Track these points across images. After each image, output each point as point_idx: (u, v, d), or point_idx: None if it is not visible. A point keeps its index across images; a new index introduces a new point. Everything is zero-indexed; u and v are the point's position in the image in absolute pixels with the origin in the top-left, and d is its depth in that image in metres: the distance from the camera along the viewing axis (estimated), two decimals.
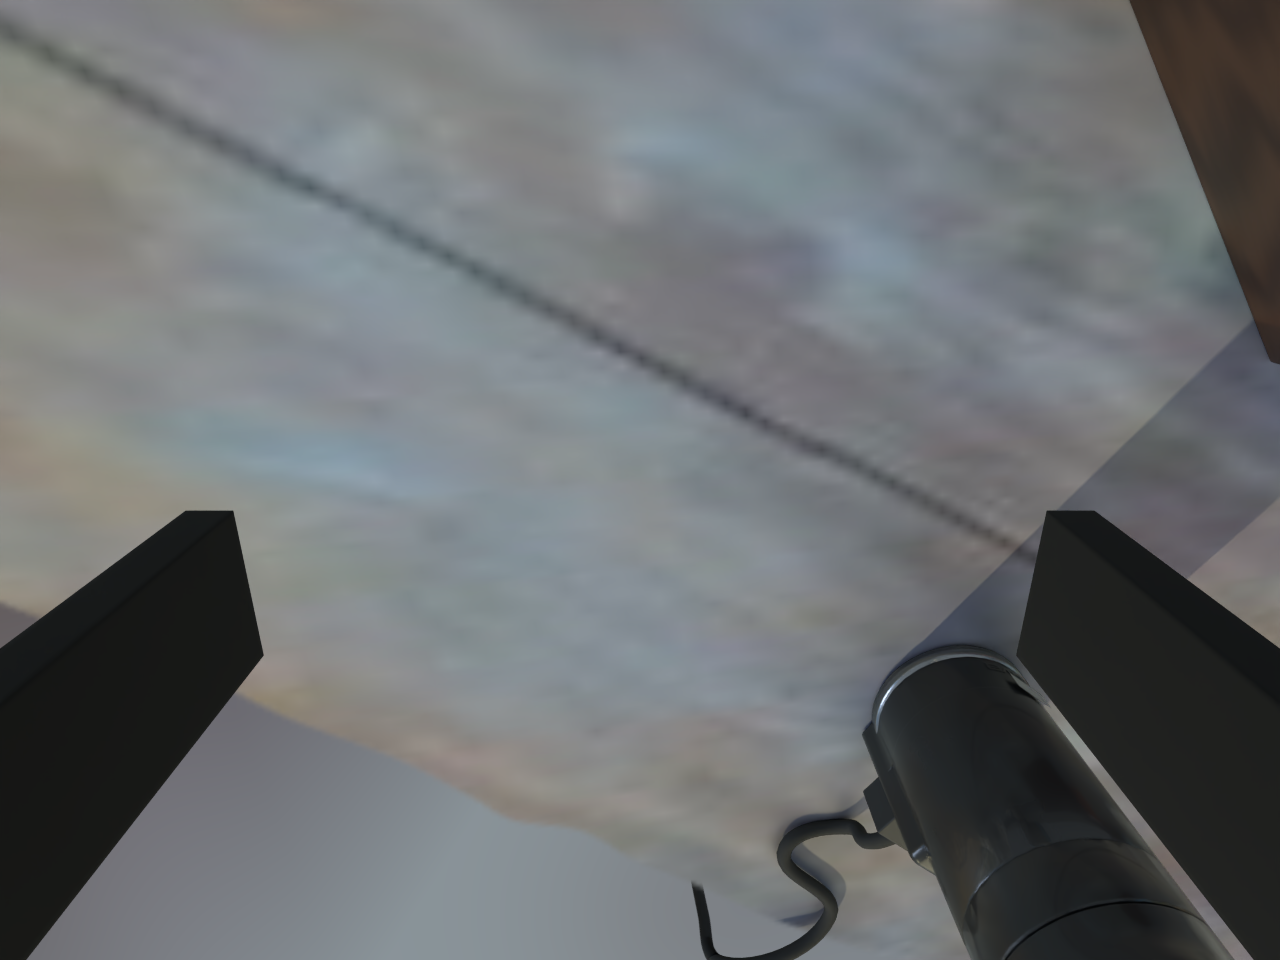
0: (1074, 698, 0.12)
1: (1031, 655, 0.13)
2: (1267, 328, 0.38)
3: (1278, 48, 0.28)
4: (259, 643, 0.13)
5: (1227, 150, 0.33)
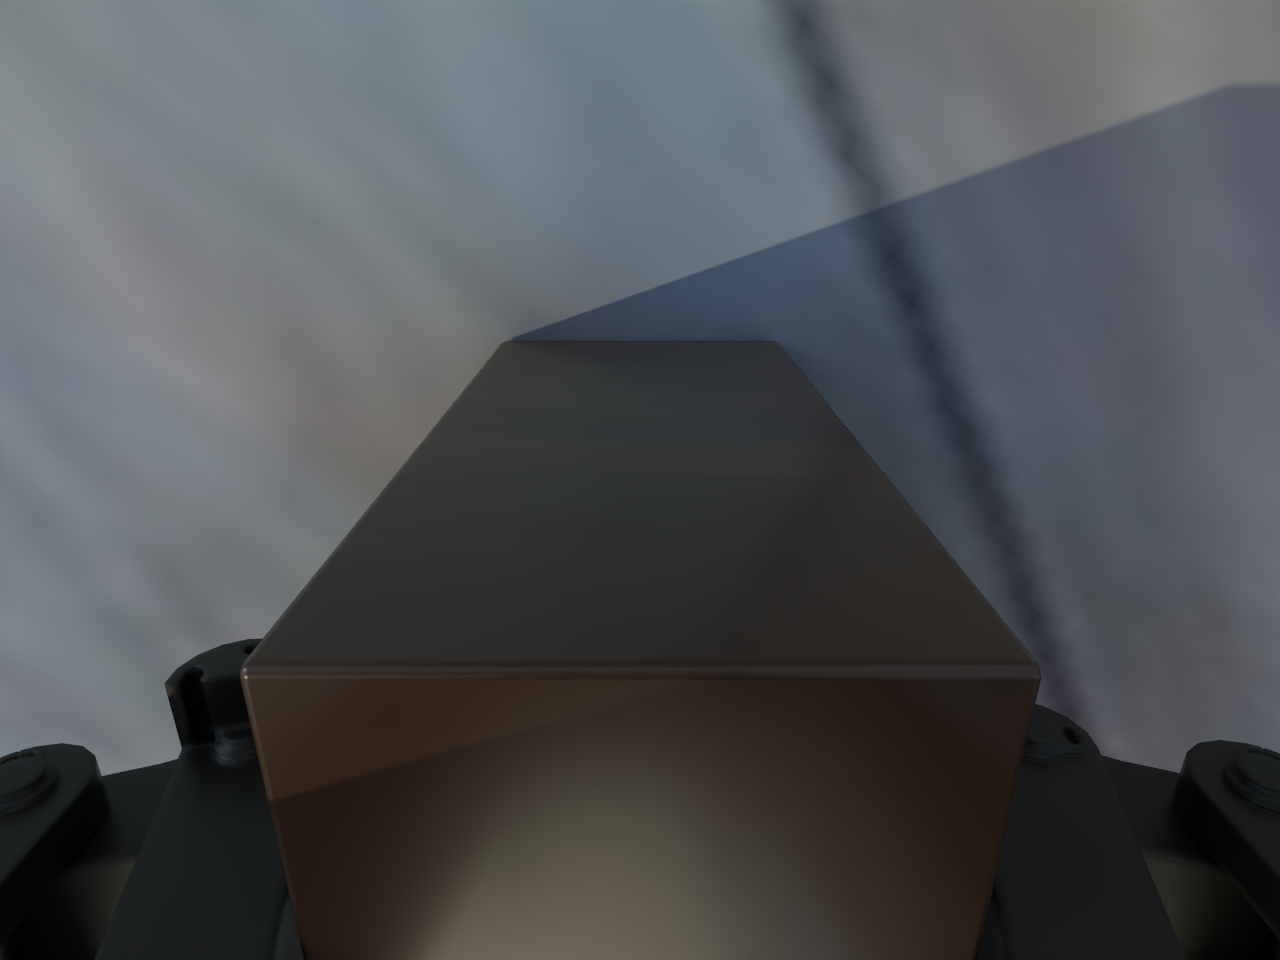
0: None
1: None
2: None
3: None
4: None
5: None
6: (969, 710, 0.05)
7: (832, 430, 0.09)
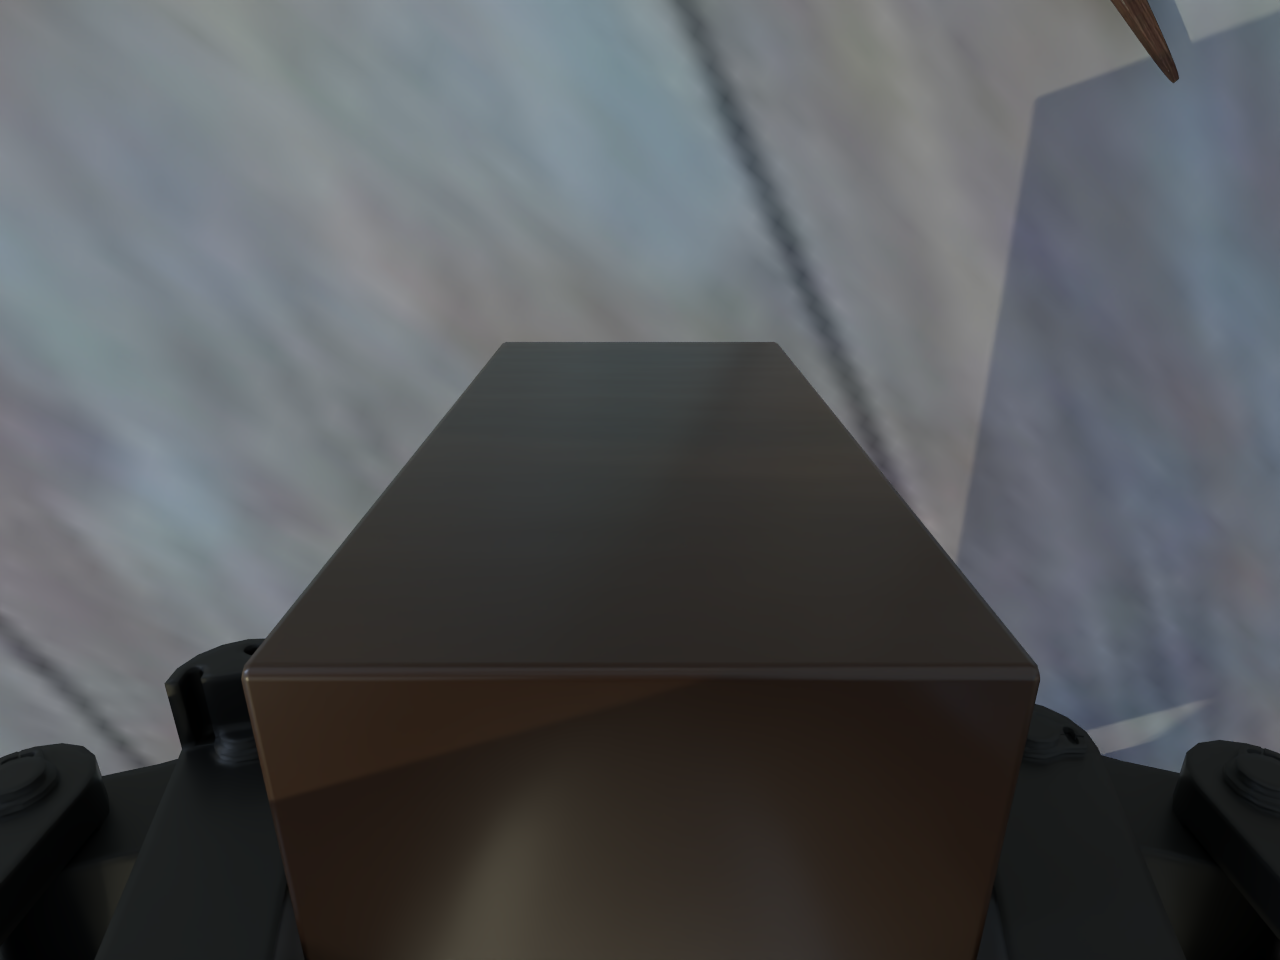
0: None
1: None
2: None
3: None
4: None
5: None
6: (968, 711, 0.05)
7: (832, 431, 0.09)
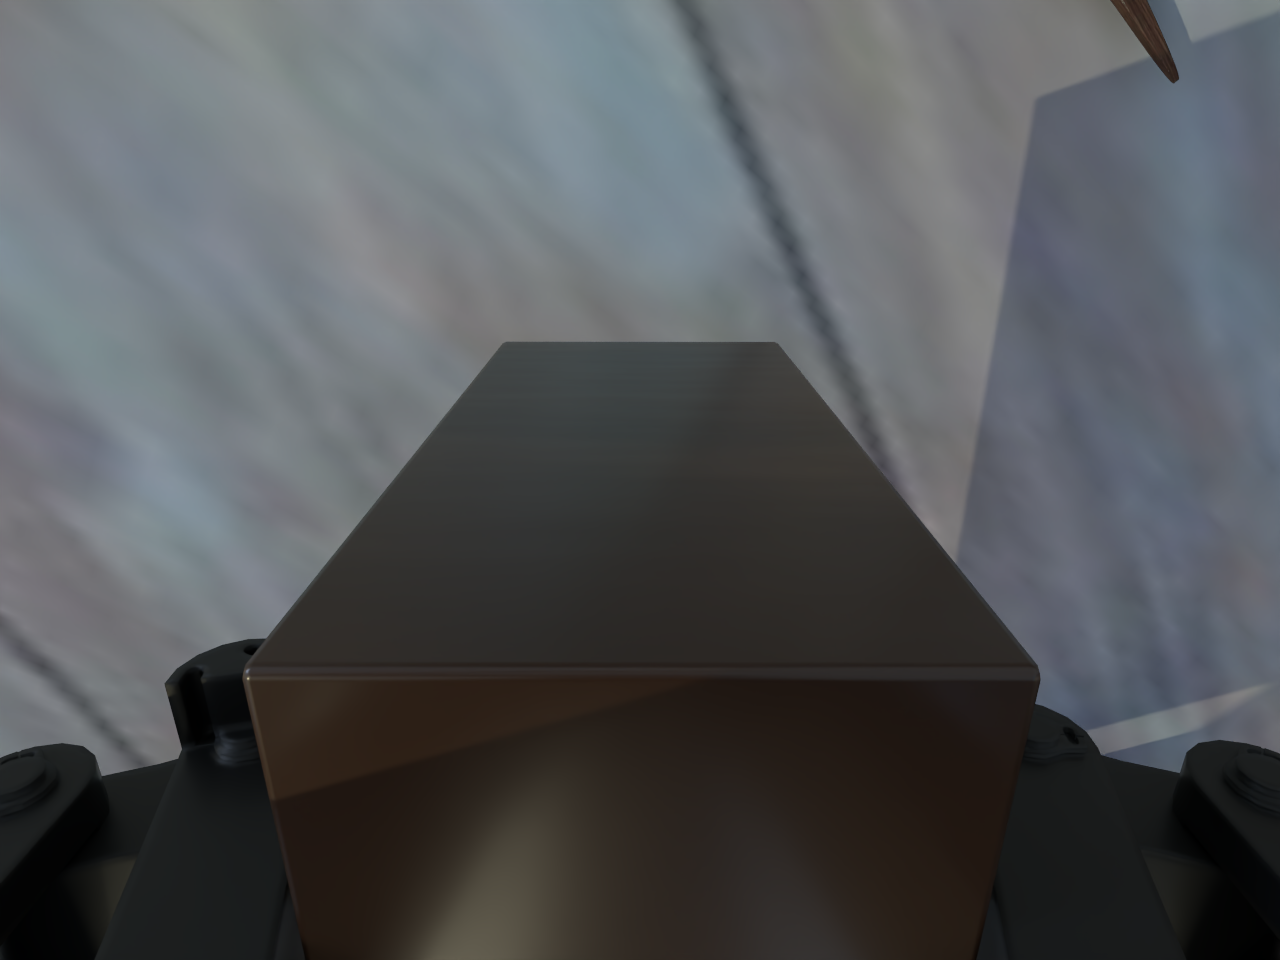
0: None
1: None
2: None
3: None
4: None
5: None
6: (969, 712, 0.05)
7: (832, 432, 0.09)
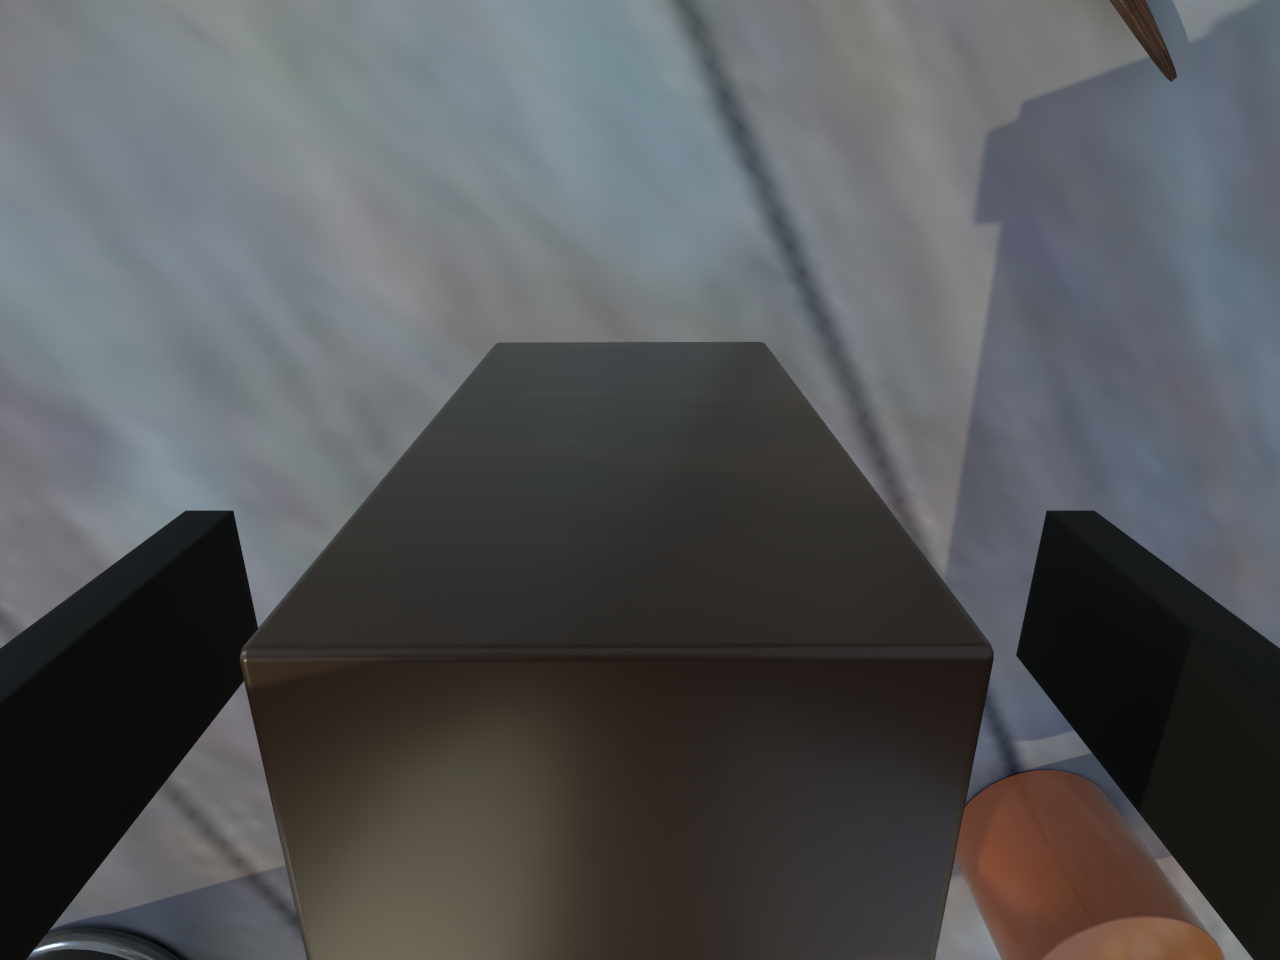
0: (1074, 698, 0.12)
1: (1031, 655, 0.13)
2: None
3: None
4: None
5: None
6: (927, 689, 0.05)
7: (812, 428, 0.09)
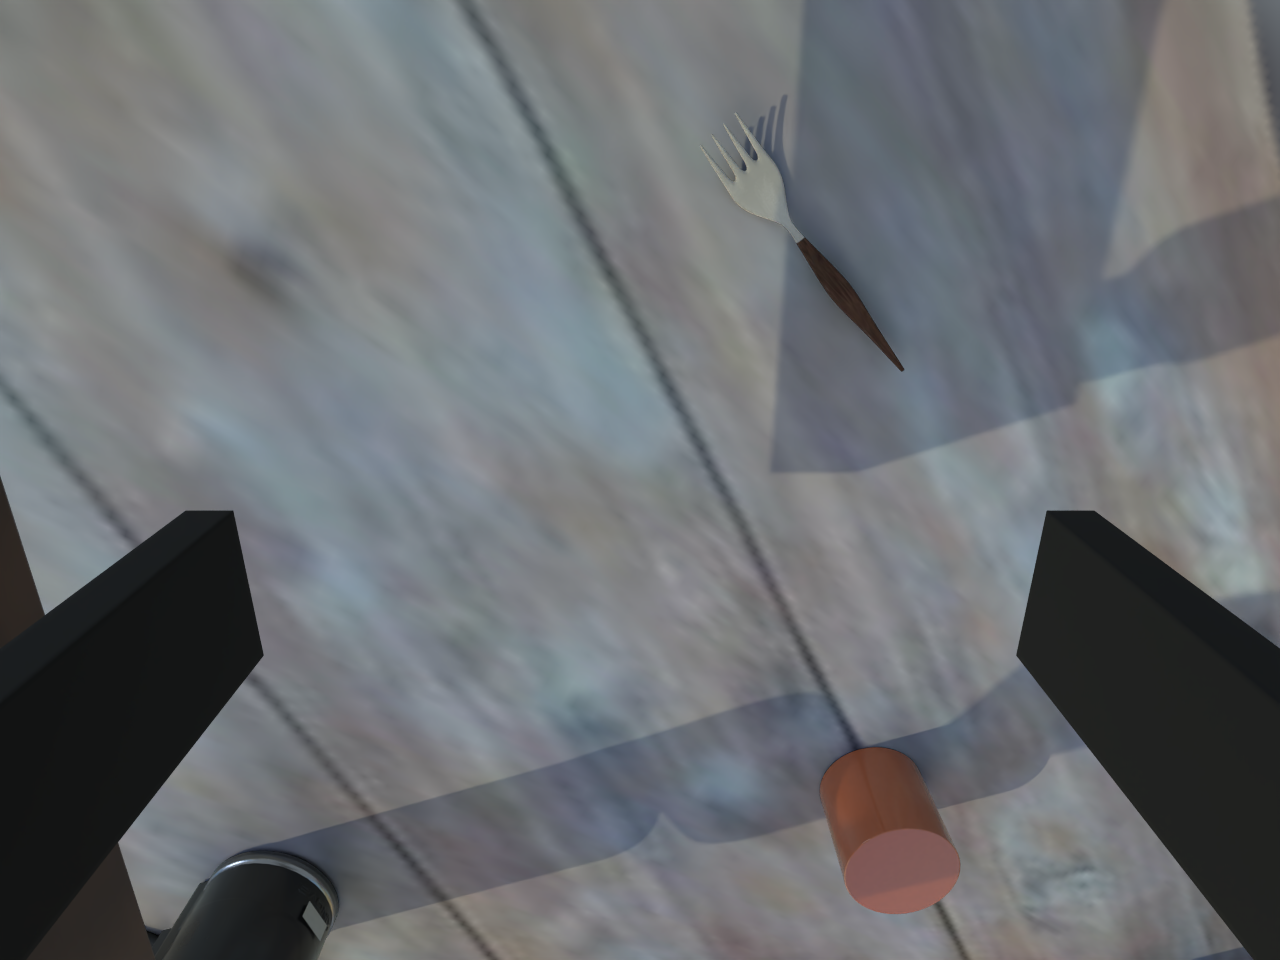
0: (1074, 698, 0.12)
1: (1031, 655, 0.13)
2: None
3: None
4: (259, 644, 0.13)
5: None
6: None
7: None
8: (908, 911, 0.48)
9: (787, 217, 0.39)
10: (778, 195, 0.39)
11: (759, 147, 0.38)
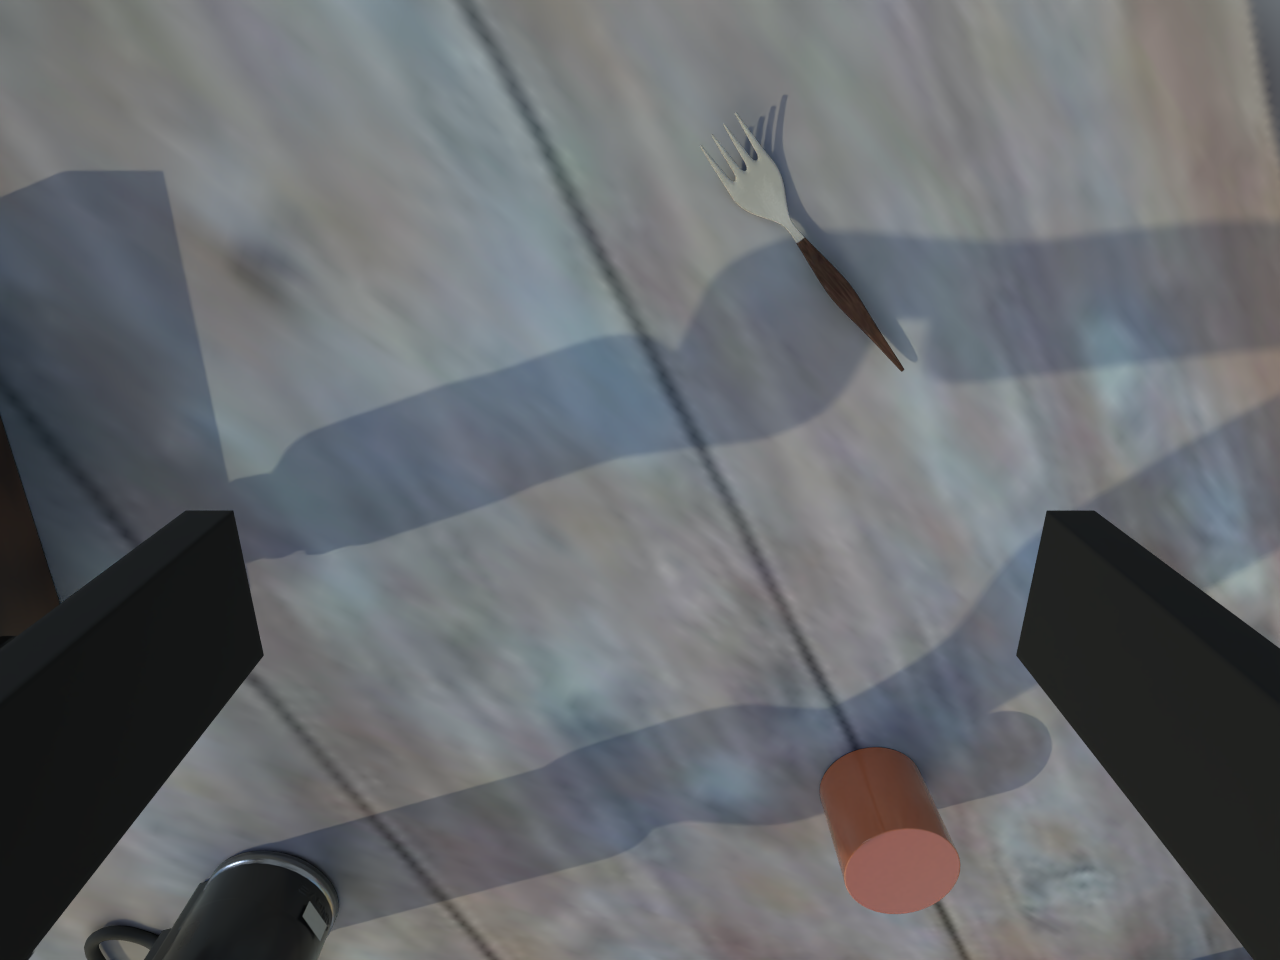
0: (1074, 698, 0.12)
1: (1031, 655, 0.13)
2: None
3: None
4: (259, 644, 0.13)
5: None
6: None
7: None
8: (908, 911, 0.48)
9: (787, 217, 0.39)
10: (778, 195, 0.39)
11: (759, 147, 0.38)
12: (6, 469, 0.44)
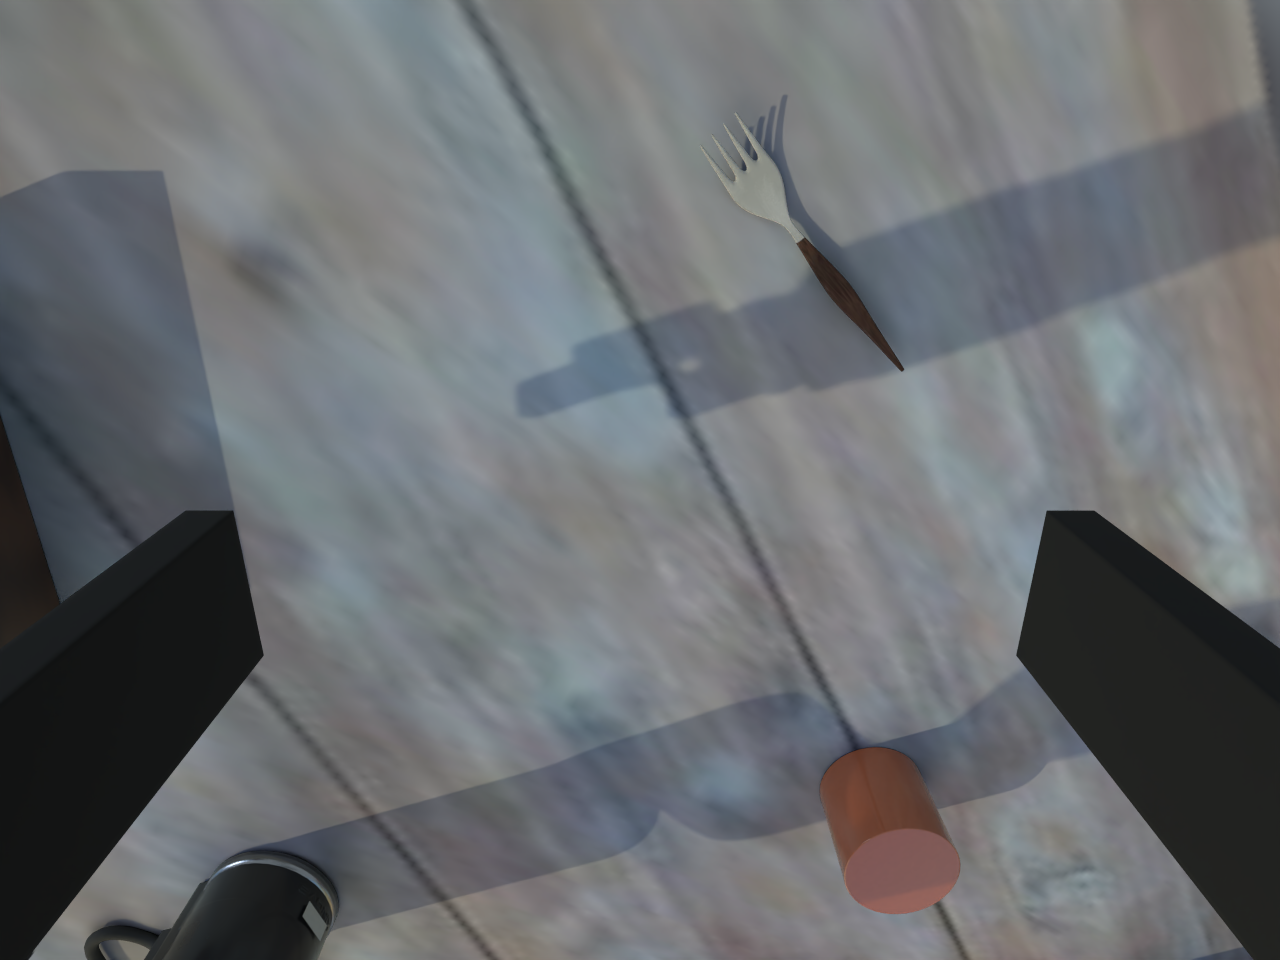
0: (1074, 698, 0.12)
1: (1031, 655, 0.13)
2: None
3: None
4: (259, 644, 0.13)
5: None
6: None
7: None
8: (908, 911, 0.48)
9: (787, 217, 0.39)
10: (778, 195, 0.39)
11: (759, 147, 0.38)
12: (6, 469, 0.44)
